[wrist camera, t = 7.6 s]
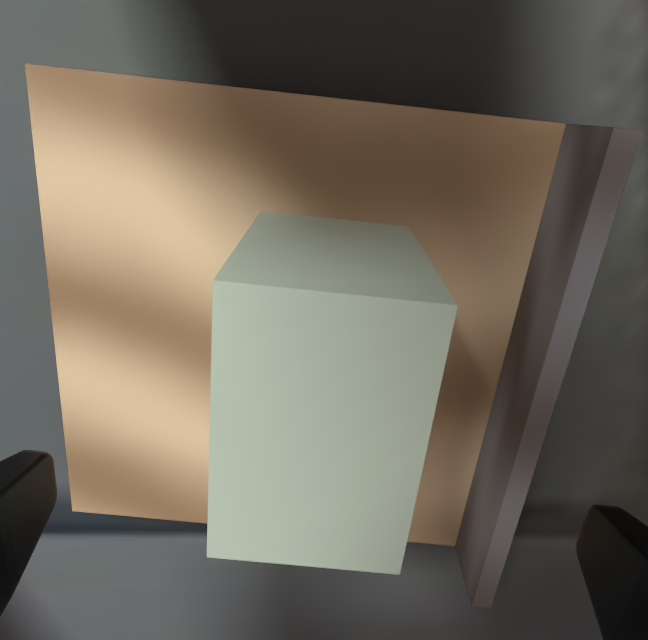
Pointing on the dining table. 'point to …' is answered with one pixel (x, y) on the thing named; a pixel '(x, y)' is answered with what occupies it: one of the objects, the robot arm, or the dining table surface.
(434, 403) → the tea box
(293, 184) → the wooden platform
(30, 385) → the dining table surface
